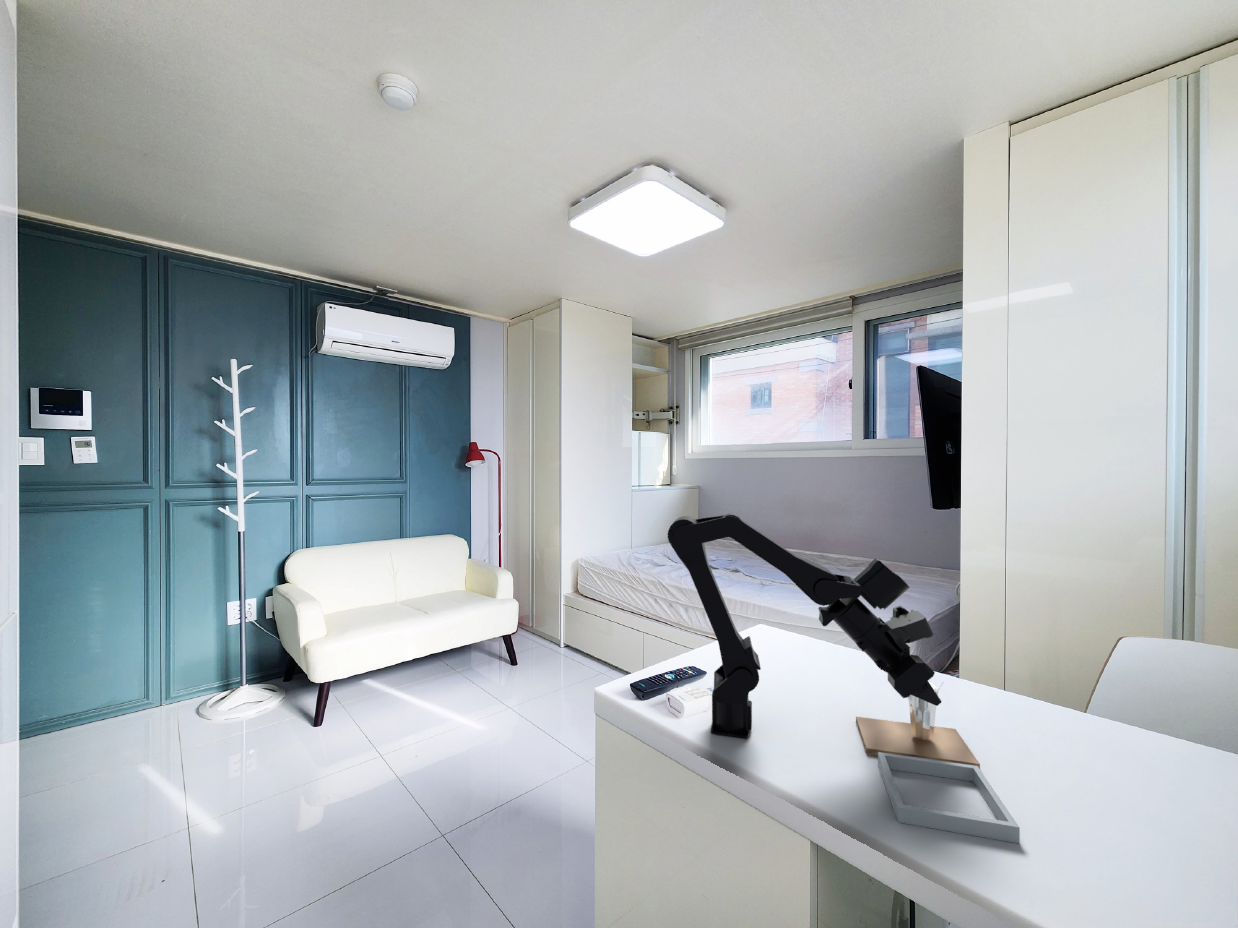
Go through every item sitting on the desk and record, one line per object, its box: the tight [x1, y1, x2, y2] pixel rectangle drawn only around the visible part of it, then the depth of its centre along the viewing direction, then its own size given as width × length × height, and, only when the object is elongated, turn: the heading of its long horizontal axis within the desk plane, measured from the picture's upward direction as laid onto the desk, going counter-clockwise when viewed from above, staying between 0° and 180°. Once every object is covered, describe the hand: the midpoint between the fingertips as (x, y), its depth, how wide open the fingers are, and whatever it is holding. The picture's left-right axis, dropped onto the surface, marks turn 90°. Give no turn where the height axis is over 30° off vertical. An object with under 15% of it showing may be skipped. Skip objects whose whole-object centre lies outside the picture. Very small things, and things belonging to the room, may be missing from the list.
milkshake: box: [907, 681, 945, 740], centre depth 86 cm, size 4×5×10 cm
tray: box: [877, 752, 1020, 844], centre depth 72 cm, size 14×14×2 cm
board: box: [855, 716, 981, 770], centre depth 87 cm, size 16×11×1 cm
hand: (933, 697), depth 86 cm, fingers closed on milkshake, 4 cm apart
